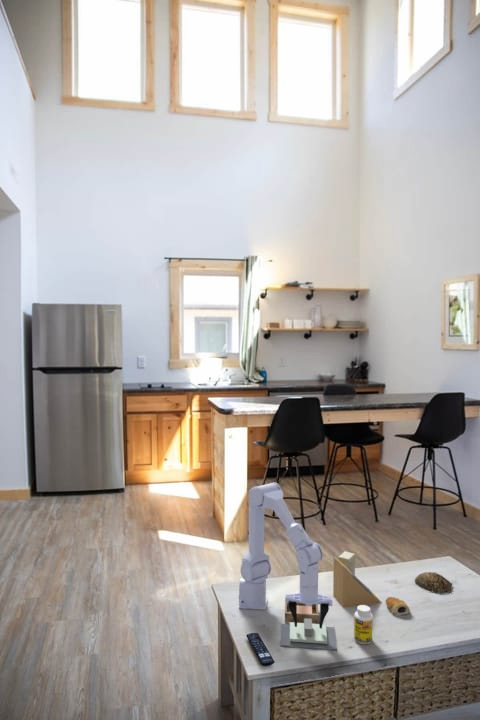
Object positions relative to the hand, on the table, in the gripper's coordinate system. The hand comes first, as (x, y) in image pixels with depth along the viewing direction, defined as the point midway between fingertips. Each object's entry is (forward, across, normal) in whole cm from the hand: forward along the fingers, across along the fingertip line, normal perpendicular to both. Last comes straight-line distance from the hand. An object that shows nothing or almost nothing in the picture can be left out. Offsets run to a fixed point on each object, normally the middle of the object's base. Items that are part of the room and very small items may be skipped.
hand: (308, 625), depth 167 cm
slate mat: (+4, 0, 0) cm, 4 cm away
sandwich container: (+4, +18, +26) cm, 32 cm away
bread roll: (+4, +49, +41) cm, 64 cm away
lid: (+3, 0, 0) cm, 3 cm away
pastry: (+4, +31, +21) cm, 37 cm away
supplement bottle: (+4, +17, 0) cm, 17 cm away
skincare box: (+4, +15, +36) cm, 39 cm away
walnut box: (+4, -2, +12) cm, 13 cm away
